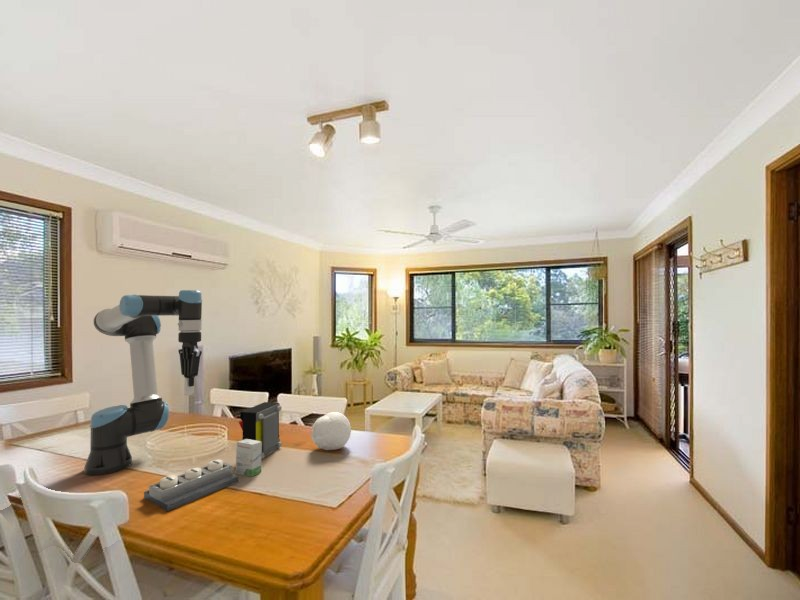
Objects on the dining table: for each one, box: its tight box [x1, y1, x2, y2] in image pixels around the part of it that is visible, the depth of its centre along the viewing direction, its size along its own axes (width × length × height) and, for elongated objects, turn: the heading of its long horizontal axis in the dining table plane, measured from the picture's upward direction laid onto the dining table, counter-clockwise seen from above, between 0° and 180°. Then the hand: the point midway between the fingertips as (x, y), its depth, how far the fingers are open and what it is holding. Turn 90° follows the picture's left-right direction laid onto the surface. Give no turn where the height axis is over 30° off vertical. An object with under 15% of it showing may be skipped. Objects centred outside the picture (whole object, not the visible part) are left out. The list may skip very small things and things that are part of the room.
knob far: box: [207, 459, 224, 472], centre depth 138 cm, size 5×5×4 cm
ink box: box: [235, 439, 262, 477], centre depth 145 cm, size 9×5×12 cm, turn 65°
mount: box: [143, 461, 239, 512], centre depth 131 cm, size 16×24×5 cm, turn 146°
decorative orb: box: [311, 411, 352, 451], centre depth 168 cm, size 20×18×16 cm
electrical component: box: [238, 401, 283, 460], centre depth 164 cm, size 18×10×20 cm, turn 166°
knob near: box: [159, 474, 178, 490], centre depth 124 cm, size 5×5×4 cm
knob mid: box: [184, 467, 201, 480], centre depth 131 cm, size 5×5×4 cm
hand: (189, 394), depth 141 cm, fingers closed
